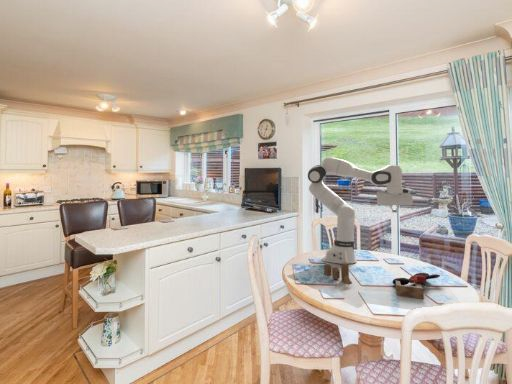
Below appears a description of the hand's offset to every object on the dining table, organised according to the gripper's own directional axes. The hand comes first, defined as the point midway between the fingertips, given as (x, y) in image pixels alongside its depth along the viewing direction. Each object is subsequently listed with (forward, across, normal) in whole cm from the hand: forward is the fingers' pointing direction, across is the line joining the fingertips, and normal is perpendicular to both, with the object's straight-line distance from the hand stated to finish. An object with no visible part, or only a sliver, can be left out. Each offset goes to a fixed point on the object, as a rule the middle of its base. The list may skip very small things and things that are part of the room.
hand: (394, 212), depth 172 cm
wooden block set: (+37, -30, -33) cm, 58 cm away
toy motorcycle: (+37, +4, -20) cm, 42 cm away
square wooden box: (+37, +4, -38) cm, 53 cm away
